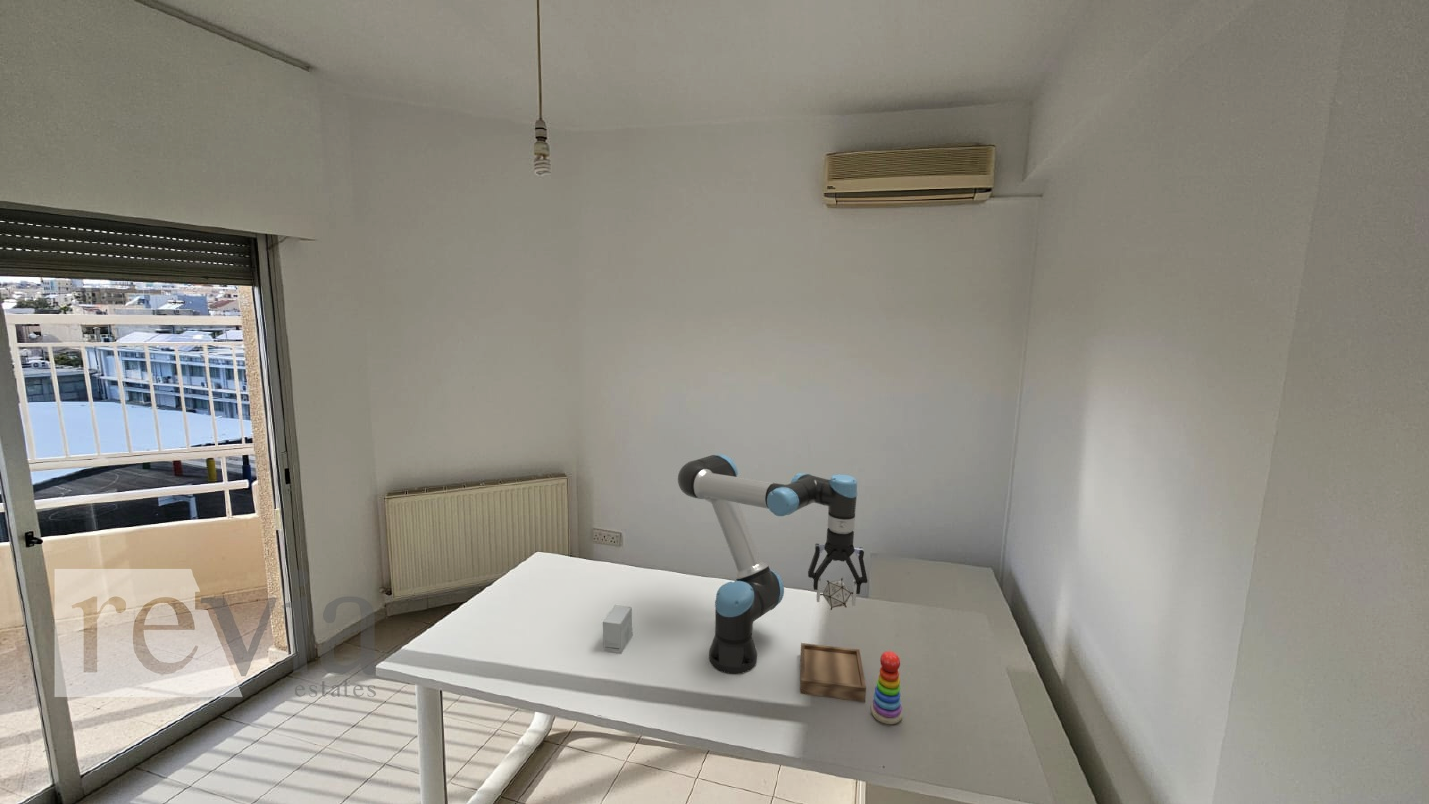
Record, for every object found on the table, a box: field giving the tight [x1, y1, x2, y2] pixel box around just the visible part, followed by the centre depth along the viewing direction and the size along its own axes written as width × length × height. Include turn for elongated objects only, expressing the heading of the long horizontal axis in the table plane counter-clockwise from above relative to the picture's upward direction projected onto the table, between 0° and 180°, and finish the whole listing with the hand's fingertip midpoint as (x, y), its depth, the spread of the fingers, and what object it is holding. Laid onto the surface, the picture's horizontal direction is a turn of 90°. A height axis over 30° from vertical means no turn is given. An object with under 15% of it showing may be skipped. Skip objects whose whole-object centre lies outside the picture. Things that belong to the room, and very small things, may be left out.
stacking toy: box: [870, 650, 903, 725], centre depth 145 cm, size 8×8×19 cm
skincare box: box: [602, 604, 634, 655], centre depth 175 cm, size 10×6×10 cm, turn 168°
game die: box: [820, 577, 853, 611], centre depth 158 cm, size 9×8×10 cm
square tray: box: [799, 642, 867, 703], centre depth 161 cm, size 18×18×4 cm
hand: (835, 601), depth 158 cm, fingers closed on game die, 9 cm apart
